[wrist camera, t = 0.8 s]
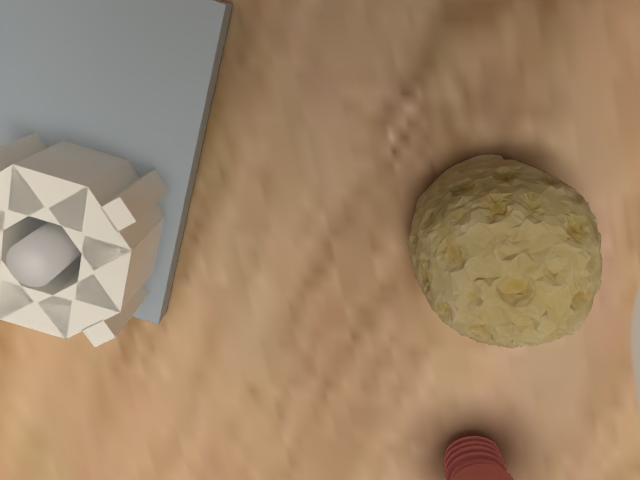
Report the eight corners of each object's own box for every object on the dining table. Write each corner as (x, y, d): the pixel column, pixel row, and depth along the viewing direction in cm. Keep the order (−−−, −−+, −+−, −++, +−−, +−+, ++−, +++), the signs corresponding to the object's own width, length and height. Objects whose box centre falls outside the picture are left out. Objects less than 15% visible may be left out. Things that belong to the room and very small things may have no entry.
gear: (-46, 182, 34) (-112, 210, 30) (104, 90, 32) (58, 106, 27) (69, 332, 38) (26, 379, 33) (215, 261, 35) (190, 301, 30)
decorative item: (400, 215, 38) (393, 365, 33) (425, 108, 30) (422, 288, 25) (550, 230, 38) (566, 384, 33) (619, 125, 30) (655, 311, 24)
